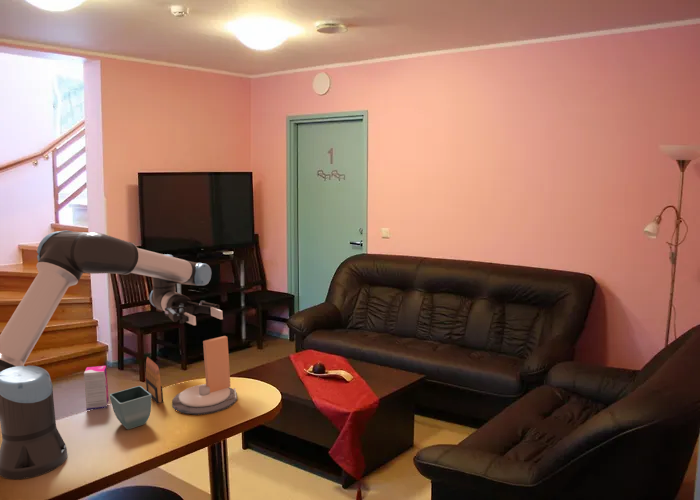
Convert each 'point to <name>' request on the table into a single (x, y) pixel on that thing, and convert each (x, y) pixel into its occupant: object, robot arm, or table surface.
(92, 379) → the supplement box
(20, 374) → the robot arm
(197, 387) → the dial
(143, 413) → the flower pot
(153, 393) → the ammunition clip
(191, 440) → the table surface
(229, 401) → the base
